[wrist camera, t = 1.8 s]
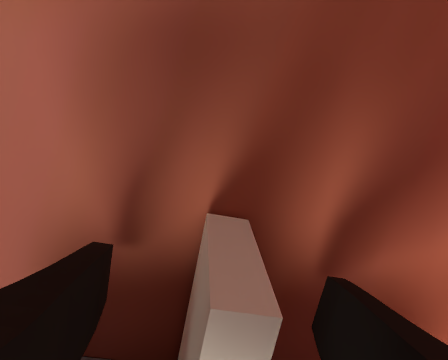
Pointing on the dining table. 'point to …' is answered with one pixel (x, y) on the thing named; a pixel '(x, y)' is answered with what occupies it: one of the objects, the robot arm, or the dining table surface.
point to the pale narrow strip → (230, 297)
